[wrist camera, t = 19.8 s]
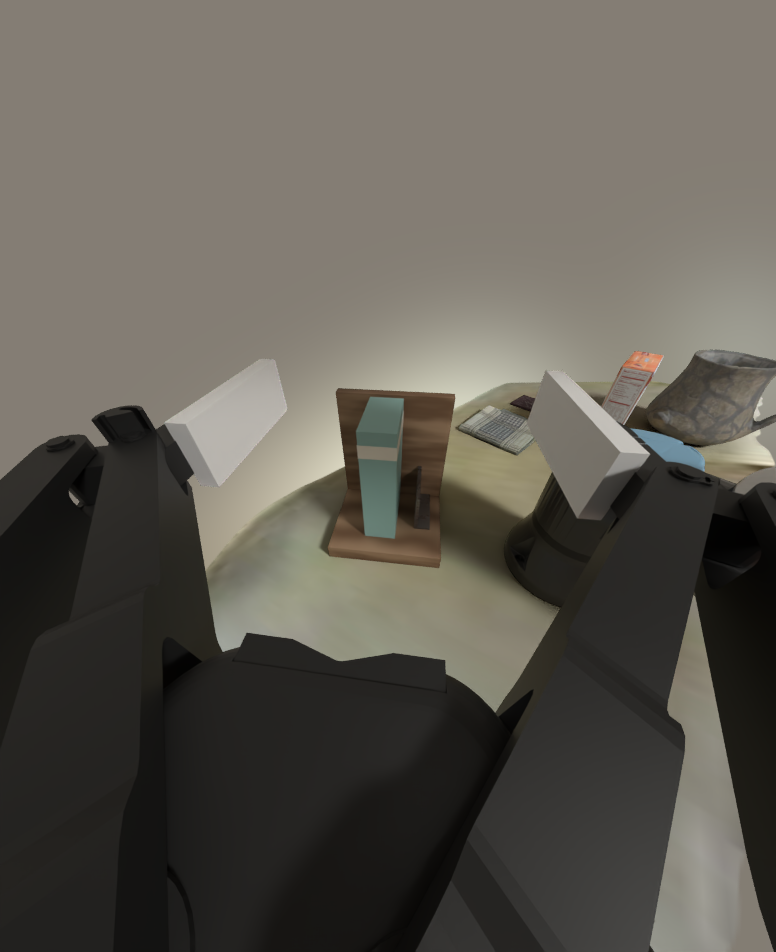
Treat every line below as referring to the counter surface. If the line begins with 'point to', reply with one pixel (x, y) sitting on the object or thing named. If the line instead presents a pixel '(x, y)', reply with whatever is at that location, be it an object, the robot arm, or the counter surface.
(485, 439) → the dish towel
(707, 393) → the vessel
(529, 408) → the chocolate bar
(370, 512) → the book
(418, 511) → the bookend
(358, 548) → the brown angled piece
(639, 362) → the cracker box
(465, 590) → the counter surface
